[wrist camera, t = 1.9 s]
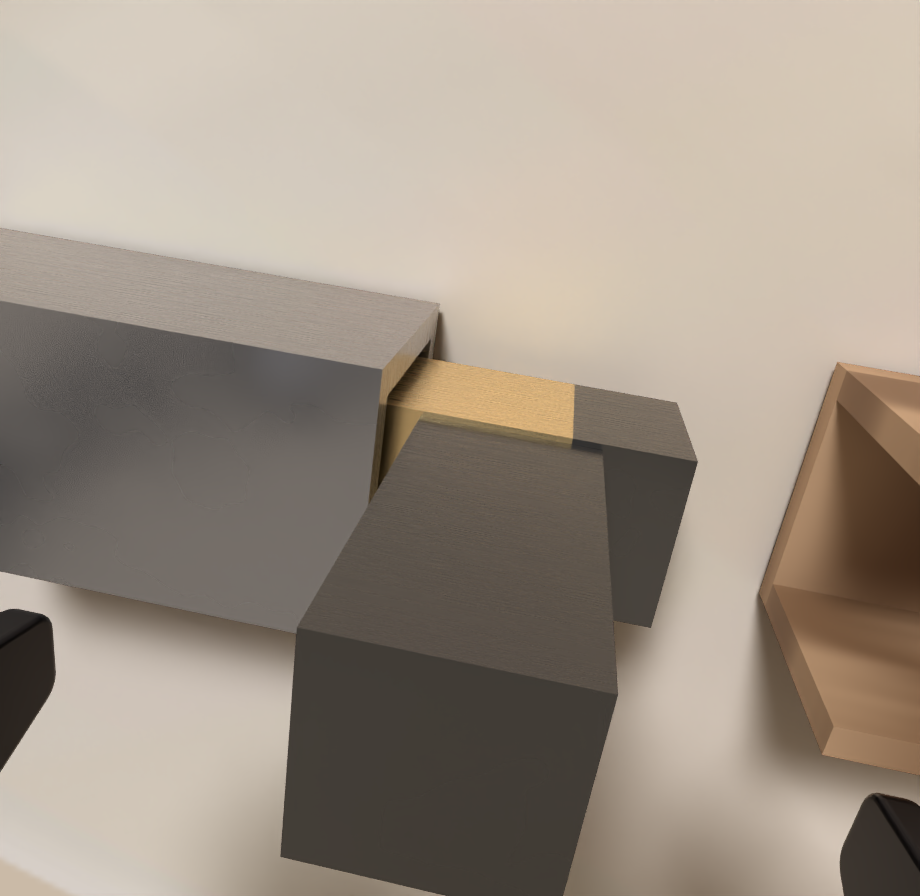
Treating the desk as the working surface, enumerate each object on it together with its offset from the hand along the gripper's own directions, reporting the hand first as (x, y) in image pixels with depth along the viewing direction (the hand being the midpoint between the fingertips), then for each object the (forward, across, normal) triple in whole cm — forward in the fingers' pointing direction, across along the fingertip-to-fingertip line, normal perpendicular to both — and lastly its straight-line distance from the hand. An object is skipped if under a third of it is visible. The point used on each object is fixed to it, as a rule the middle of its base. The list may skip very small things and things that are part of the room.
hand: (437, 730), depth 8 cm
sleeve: (+9, +7, 0) cm, 12 cm away
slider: (+8, +4, 0) cm, 9 cm away
